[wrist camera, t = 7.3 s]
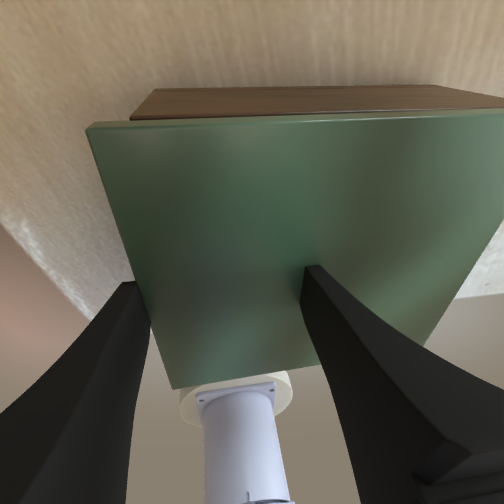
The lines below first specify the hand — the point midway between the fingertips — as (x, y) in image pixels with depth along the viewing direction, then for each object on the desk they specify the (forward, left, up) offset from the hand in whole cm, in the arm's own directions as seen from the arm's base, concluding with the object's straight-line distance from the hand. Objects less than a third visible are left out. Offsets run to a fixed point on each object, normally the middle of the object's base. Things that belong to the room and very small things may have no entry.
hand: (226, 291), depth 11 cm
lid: (0, -4, -1) cm, 4 cm away
